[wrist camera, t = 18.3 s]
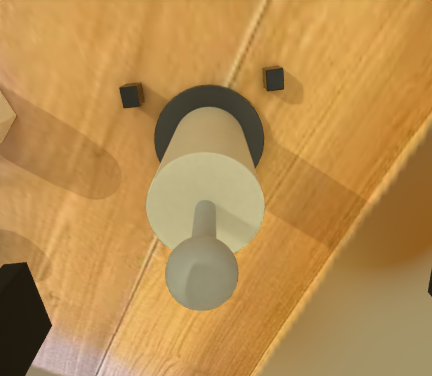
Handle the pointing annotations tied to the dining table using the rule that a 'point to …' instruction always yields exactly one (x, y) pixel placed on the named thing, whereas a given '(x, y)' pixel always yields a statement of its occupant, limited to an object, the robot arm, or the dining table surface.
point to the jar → (5, 117)
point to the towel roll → (206, 191)
